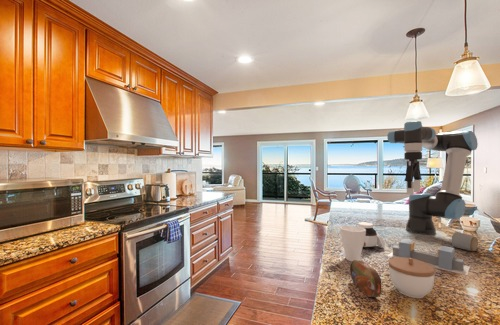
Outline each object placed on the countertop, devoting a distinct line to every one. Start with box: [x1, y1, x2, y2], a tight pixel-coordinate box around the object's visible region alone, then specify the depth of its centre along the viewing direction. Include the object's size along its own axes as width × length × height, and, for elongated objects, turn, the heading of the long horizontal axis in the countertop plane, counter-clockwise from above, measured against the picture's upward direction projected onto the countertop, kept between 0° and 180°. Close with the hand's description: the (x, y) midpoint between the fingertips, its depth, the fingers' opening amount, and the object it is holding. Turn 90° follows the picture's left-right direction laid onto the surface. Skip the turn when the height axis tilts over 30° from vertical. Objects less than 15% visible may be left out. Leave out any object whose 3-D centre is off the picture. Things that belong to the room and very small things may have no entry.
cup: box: [339, 225, 366, 262], centre depth 107 cm, size 10×10×14 cm
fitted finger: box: [437, 245, 455, 272], centre depth 98 cm, size 7×4×7 cm, turn 134°
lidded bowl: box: [388, 257, 436, 299], centre depth 80 cm, size 13×13×11 cm
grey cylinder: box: [451, 231, 479, 252], centre depth 120 cm, size 11×8×8 cm
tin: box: [349, 260, 382, 298], centre depth 81 cm, size 15×3×8 cm, turn 5°
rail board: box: [386, 245, 471, 276], centre depth 104 cm, size 11×27×4 cm, turn 44°
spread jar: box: [357, 221, 386, 250], centre depth 123 cm, size 12×11×12 cm
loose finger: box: [398, 238, 416, 258], centre depth 108 cm, size 7×4×7 cm, turn 134°
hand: (413, 193), depth 125 cm, fingers open, 13 cm apart
